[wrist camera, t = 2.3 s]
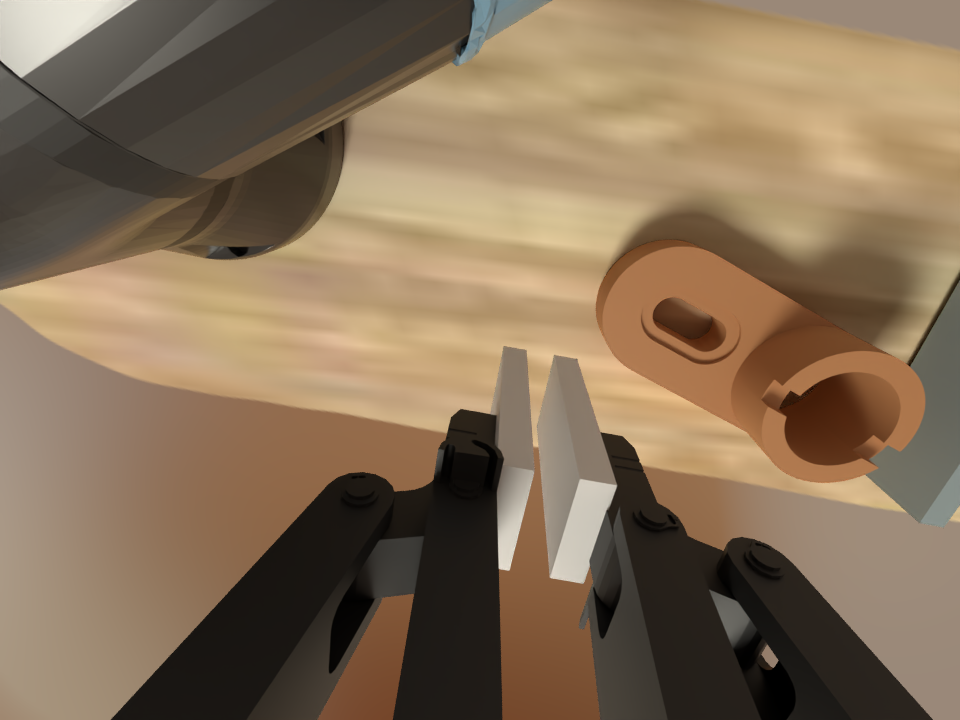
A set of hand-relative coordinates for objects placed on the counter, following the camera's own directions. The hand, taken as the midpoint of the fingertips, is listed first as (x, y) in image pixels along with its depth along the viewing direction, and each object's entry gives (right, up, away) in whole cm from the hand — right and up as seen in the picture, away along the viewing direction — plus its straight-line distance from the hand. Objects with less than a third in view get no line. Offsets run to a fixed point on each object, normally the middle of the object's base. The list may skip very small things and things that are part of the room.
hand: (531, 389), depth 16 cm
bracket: (+14, +3, +16) cm, 22 cm away
